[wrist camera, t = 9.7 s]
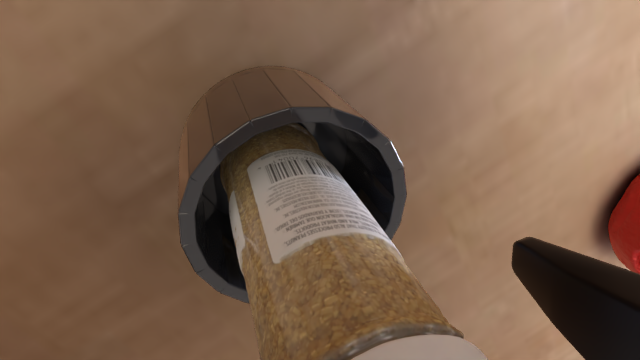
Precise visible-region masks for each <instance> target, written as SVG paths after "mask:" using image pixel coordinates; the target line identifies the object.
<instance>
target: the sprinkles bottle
mask: <svg viewBox="0 0 640 360" xmlns="http://www.w3.org/2000/svg"><path fill="white" fill-rule="evenodd" d="M220 166H221V167H220V178H221V182H222V185H223V187H224V189H225V191H226V193H227V197H228V202H229V215H230V222H231V227H232V232H233V237H234V242H235V246H236V252H237V256H238V261H239V265H240V269H241V271H242V274H243V276H244V279H245V282H246V289H247V293H248V298H249V304H250V308H251V311H252V316H253V321H254V326H255V332H256V337H257V341H258V348H259V353H260V357H261V360H488V359H487V358H486V356H485V355H484V354H483V353H482V352H481V351H480V349H478V348H477V347H476V346H475V345H474V344H472V343H471V342H469V341H467V340H464V339H463V334H462V332H460V331H459V330H457V329H456V328H454V327H453V326H452V325H451V324H449V323H448V321H447V319H446V318H445V317H444V316H443V315H442V313H441V311H440V309H439V308H438V307H437V305H436V304H435V303H434V302H433V300H432V299H431V298H430V296H429V295H428V294H427V293H426V291H425V290H424V289H423V287H422V285H421V284H420V282H419V281H418V280H417V279H416V278H415V276H414V274H413V273H412V272H411V270H410V269H409V268H408V267H407V266H406V264H405V262H404V259H403V257H402V255H401V254H400V252H399V251H398V249H397V248H396V247H395V245H394V244H393V243H392V241H391V240H390V239H389V237H388V236H387V235H386V233H385V232H384V231H383V229H382V228H381V227H380V225H379V224H378V223H377V221H376V220H375V219H374V217H373V216H372V215H371V213H370V212H369V211H368V209H367V208H366V207H365V206H364V204H363V203H362V202H361V200H360V199H359V198H358V196H357V195H356V194H355V193H354V191H353V190H352V189H351V187H350V186H349V185H348V184H347V182H346V181H345V180H344V178H343V177H342V176H341V174H340V173H339V172H338V171H337V169H336V168H335V167H334V166H333V165H332V164H331V163H330V162H329V161H328V160H327V159H326V158H325V157H324V155H323V154H322V152H321V151H320V149H319V146H318V143H317V141H316V140H315V138H314V137H313V136H312V134H311V133H310V132H309V131H307V130H306V129H305V128H304V127H302V126H301V125H299V124H297V123H290V124H287V125H284V126H281V127H278V128H275V129H272V130H269V131H265V132H262V133H259V134H257V135H255V136H254V137H252V138H251V139H249V140H248V141H247V142H245V143H244V144H242V145H241V146H239V147H238V148H236V149H235V150H234V151H232V152H231V153H229V154H228V155H227V156H226V157H225V158H224V160H223V161H222V162H221V163H220Z"/></svg>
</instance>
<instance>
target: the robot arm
mask: <svg viewBox="0 0 640 360" xmlns="http://www.w3.org/2000/svg"><path fill="white" fill-rule="evenodd" d="M512 268H513V271H514V273H515V274H516V275H517V277H518V278H519V279H520V281H521V282H522V283H523V285H524V286H525V287H526V289H527V290H528V292H529V293H530V294H531V296H532V297H533V298H534V300H535V301H536V302H537V304H538V305H539V306H540V308H541V309H542V310H543V312H544V313H545V314H546V316H547V317H548V318H549V319H550V321H551V322H552V323H553V324H554V325H555V327H556V328H557V329H558V330H559V331H560V332H561V333H562V334H563V336H564V337H565V338H566V339H567V340H568V341H569V342H570V343H571V344H572V345H573V347H574V348H575V349H576V350H577V351H578V352H579V353H580V354H581V355H582V356H583V358H584V359H585V360H640V274H638V273H635V272H632V271H629V270H626V269H623V268H620V267H618V266H615V265H612V264H609V263H606V262H603V261H600V260H597V259H594V258H591V257H588V256H585V255H582V254H580V253H577V252H574V251H571V250H568V249H565V248H562V247H559V246H556V245H553V244H550V243H547V242H545V241H542V240H539V239H536V238H533V237H526V238H523V239H521V240H518V241H516V242H515V243H514V244H513V253H512Z"/></svg>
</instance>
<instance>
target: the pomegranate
mask: <svg viewBox="0 0 640 360" xmlns="http://www.w3.org/2000/svg"><path fill="white" fill-rule="evenodd" d="M608 231H609V238H610V242H611V245H612V248H613V250H614V253H615V254H616V256H617V258H618V259H619V260H620V261H621V262H622V263H623V264H624V265H625V266H626V267H627V268H628V269H629V270H631V271H632V272H635V273H638V274H640V174H639V175H638V176H637V177H636V178H635V179H634V180H633V181H632V182H631V184H630V185H629V187H628V188H627V189H626V191H625V193H624V195H623V197H622V198H621V200H620V201H619V202H618V204H617V205H616V207H615V209H614V210H613V212H612V214H611V217H610V220H609V224H608Z"/></svg>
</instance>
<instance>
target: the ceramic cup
mask: <svg viewBox="0 0 640 360" xmlns="http://www.w3.org/2000/svg"><path fill="white" fill-rule="evenodd" d="M290 123H297V124H299V125H301V126H302V127H304V128H305V129H306V130H307V131H309V132H310V133H311V134H312V136H313V137H314V138H315V140H316V141H317V143H318V146H319V149H320V151H321V152H322V154H323V155H324V157H325V158H326V159H327V160H328V161H329V162H330V163H331V164H332V165H333V166H334V167H335V168H336V169H337V171H338V172H339V173H340V174H341V176H342V177H343V178H344V180H345V181H346V182H347V184H348V185H349V186H350V187H351V189H352V190H353V191H354V193H355V194H356V195H357V196H358V198H359V199H360V200H361V202H362V203H363V204H364V206H365V207H366V208H367V209H368V211H369V212H370V213H371V215H372V216H373V217H374V219H375V220H376V221H377V223H378V224H379V225H380V227H381V228H382V229H383V231H384V232H385V233H386V235H387V236H388V237H389V239H390V240H392V238H393V236H394V234H395V232H396V231H397V229H398V227H399V225H400V223H401V219H402V214H403V210H404V206H405V201H406V195H407V192H406V182H405V173H404V167H403V164H402V162H401V160H400V158H399V156H398V154H397V152H396V150H395V148H394V146H393V144H392V143H391V141H390V140H389V138H388V137H386V136H385V135H384V134H383V133H382V132H381V131H379V130H378V129H377V128H376V127H375V126H374V125H372V124H371V123H370V122H369V121H368V120H366V119H365V118H364V117H363V116H362V115H361V114H359V113H358V112H357V111H356V110H355V109H353V108H352V107H351V106H350V105H349V104H348V103H346V102H345V101H344V100H343V99H342V98H341V97H339V96H338V95H337V94H336V93H335V92H333V91H332V90H331V89H330V88H329V87H328V86H326V85H325V84H324V83H323V82H322V81H320V80H318V79H317V78H315V77H313V76H311V75H309V74H307V73H305V72H302V71H299V70H296V69H292V68H287V67H279V66H265V67H256V68H251V69H247V70H243V71H241V72H238V73H235V74H233V75H231V76H229V77H227V78H225V79H223V80H221V81H220V82H219V83H217V84H216V85H214V86H213V87H212V88H211V89H210V90H208V91H207V92H206V93H205V94H204V95H203V96H202V97H201V99H200V100H199V101H198V102H197V104H196V105H195V106H194V108H193V109H192V111H191V113H190V114H189V116H188V118H187V121H186V123H185V126H184V129H183V133H182V137H181V144H180V147H179V186H178V220H179V232H180V243H181V247H182V249H183V250H184V252H185V254H186V256H187V258H188V260H189V262H190V264H191V265H192V267H193V269H194V271H195V272H196V274H197V275H199V276H200V277H201V278H202V279H203V280H205V281H206V282H207V283H208V284H209V285H211V286H212V287H213V288H214V289H215V290H217V291H218V292H220V293H221V294H224V295H227V296H229V297H232V298H234V299H237V300H240V301H242V302H245V303H249V298H248V293H247V289H246V282H245V279H244V276H243V274H242V271H241V269H240V265H239V261H238V256H237V252H236V246H235V242H234V237H233V232H232V227H231V222H230V215H229V202H228V197H227V193H226V191H225V189H224V187H223V185H222V182H221V178H220V167H221V166H220V163H221V162H222V161H223V160H224V158H225V157H226V156H227V155H228V154H229V153H231V152H232V151H234V150H235V149H236V148H238V147H239V146H241V145H242V144H244V143H245V142H247V141H248V140H249V139H251V138H252V137H254V136H255V135H257V134H259V133H262V132H265V131H269V130H272V129H275V128H278V127H281V126H284V125H287V124H290Z"/></svg>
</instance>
